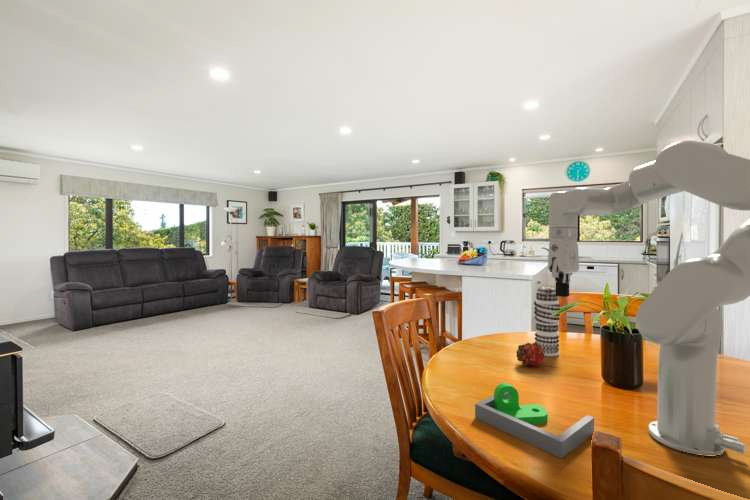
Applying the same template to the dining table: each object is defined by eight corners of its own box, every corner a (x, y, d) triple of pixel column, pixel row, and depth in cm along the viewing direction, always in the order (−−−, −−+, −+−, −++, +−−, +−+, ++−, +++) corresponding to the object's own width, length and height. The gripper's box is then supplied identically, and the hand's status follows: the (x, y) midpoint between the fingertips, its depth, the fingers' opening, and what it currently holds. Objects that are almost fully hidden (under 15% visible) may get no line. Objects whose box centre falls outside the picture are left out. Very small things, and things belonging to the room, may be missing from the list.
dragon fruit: (517, 373, 121) (537, 370, 128) (537, 363, 116) (557, 361, 123) (506, 348, 126) (526, 347, 133) (525, 339, 120) (545, 338, 127)
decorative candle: (548, 357, 131) (548, 290, 130) (528, 350, 140) (528, 287, 139) (565, 354, 135) (566, 288, 134) (545, 347, 144) (545, 285, 143)
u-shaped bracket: (593, 432, 81) (594, 417, 81) (561, 458, 72) (562, 441, 72) (510, 399, 98) (510, 387, 98) (475, 417, 89) (475, 403, 89)
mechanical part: (504, 426, 85) (504, 393, 85) (493, 414, 91) (494, 383, 91) (552, 423, 86) (552, 391, 86) (539, 411, 92) (539, 381, 92)
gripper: (564, 234, 98) (563, 300, 98) (587, 233, 107) (586, 295, 107) (537, 234, 103) (536, 297, 104) (561, 234, 113) (561, 292, 113)
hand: (562, 295), depth 106 cm, fingers closed
